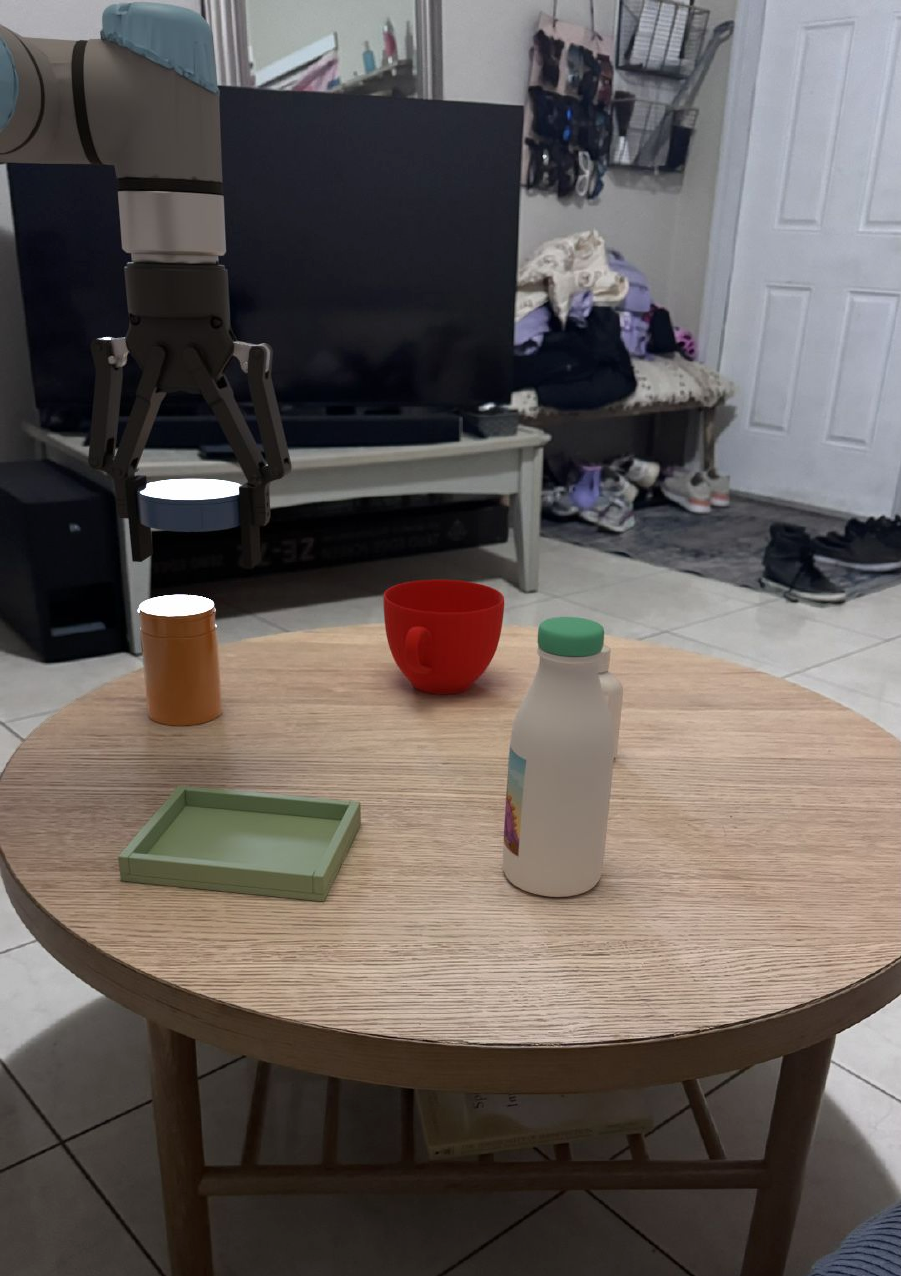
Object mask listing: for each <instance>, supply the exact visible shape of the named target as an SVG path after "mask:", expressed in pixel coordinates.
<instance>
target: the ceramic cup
mask: <svg viewBox="0 0 901 1276" xmlns="http://www.w3.org/2000/svg"><path fill="white" fill-rule="evenodd" d="M383 593H384V594H383V599H382V601H383V602H382V603H383V604H382V605H383V618H384V619H383V620H384V627H385V634H386V639H387V644H388V647H389V651H390V652H391V655H392V658H393V660H394V663H395V664H396V666H397V667H398V669H399V670H400V672H401V673H402V674H403V675H404V676H405V677H406V679H407V680H408V681H409V682H411V685H412V686H413V687H414V688H415V689H417V690H419V691H422V692H425V693H429V694H436V695H451V694H458V693H462V692H465V691H467V690H469V689H471V687H472V686H473V684H475V682H476V681H477V680H478V679H480V677H481V676H482V675H483V674H484V673H485V671H486V670H487V669H488V667H489V666H490V664H491V662H492V660H493V658H494V656H495V655H496V652H497V649H498V646H499V643H500V639H501V633H502V628H503V622H504V614H505V597H504V595H503V594H502V592H501V591H499V590H497V589H496V588H493V587H491V586H489V585H485V584H483V583H482V584H481V583H477V582H472V581H465V580H454V579H423V580H413V581H407V582H402V583H398V584H396V585H393V586H390V587H389V588H387V589H386V590H385V591H384V592H383Z"/></svg>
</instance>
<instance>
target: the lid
mask: <svg viewBox="0 0 901 1276" xmlns="http://www.w3.org/2000/svg"><path fill="white" fill-rule="evenodd" d="M241 485H242V484H241V483H238V482H233V481H229V480H223V479H222V480H220V479H211V478H210V479H207V478H180V479H178V478H177V479H166V480H158V481H154V482H153V481H152V482H149V483H147V484H145V485H142V486H140V487H138V488H137V500H138V511H139V521H140V523H141V524H143V525H144V526H147V527H150V528H151V529H154V530H159V531H166V532H180V533H182V532H183V533H192V532H193V533H200V532H201V533H202V532H215V531H216V532H217V531H223V530H229V529H233V528H237V527H241V523H240V504H239V487H240V486H241Z"/></svg>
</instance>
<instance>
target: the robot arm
mask: <svg viewBox="0 0 901 1276" xmlns="http://www.w3.org/2000/svg"><path fill="white" fill-rule="evenodd" d="M101 17H102V18H101V23H102V24H101V26H102V28H101V29H100V31H99V35H100V38H89V39H88V40H87V39H85V40H84V39H79V40H73V39H72V40H71V39H60V38H59V39H58V38H41V37H29V36H22V35H21V34H19V33H18V32H15V31H13V30H11V29H10V28H8V27H6V26H4V25H3V24H1V23H0V165H6V164H7V163H13V164H14V163H15V164H42V165H43V164H44V165H45V164H46V165H47V164H48V165H49V164H51V165H55V164H56V165H93V166H113V167H114V170H115V176H116V188H117V189H116V190H117V198H118V210H119V212H118V213H119V221H120V222H119V223H120V224H119V225H120V238H121V239H120V240H121V249H122V250H123V251H124V252H125V253H127V254H130V255H131V261H128V262H126V266H124V267H123V268H124V281H125V291H126V303H127V312H128V317H129V326H128V330H127V332H126V334H125V337H117V338H115V337H112V336H106V337H99V338H95V339H93V340H92V341H91V342H90V352H91V356H92V361H93V364H94V370H95V376H94V377H95V379H94V387H93V388H94V390H93V402H92V411H91V413H92V414H91V423H90V424H91V425H90V434H89V435H90V436H89V447H88V455H87V457H88V458H87V462H88V465H89V467H90V468H91V469H92V470H95V471H102V472H104V473H106V474H108V475H109V476H111V478H112V480H113V482H114V484H113V485H114V494H115V504H116V512H117V515H118V517H119V519H126V520H128V529H129V541H130V551H131V562H132V563H133V562H134V563H142V562H143V561H146V560H147V559H148V558H150V557H152V556H153V555H154V549H153V539H152V528H150V527H147V526H144V525H143V524H141V523H140V521H139V511H138V500H137V488H138V487H140V486H142V485H145V484H148V483H147V481H148V480H147V475H145V474H144V475H142V474H137V475H135V474H136V473H138V472H139V471H140V468H139V467H138V466H139V463H140V460H141V457H142V456H143V452H144V450H145V447H146V444H147V442H148V439H149V436H150V434H151V431H152V429H153V425H154V423H155V421H156V417H157V414H158V412H159V409H160V406H161V404H162V401H163V400H164V398H165V397H166V395H167V394H172V393H175V392H180V391H181V392H185V393H188V394H190V395H202V397H203V399H204V401H205V403H206V404H207V405H208V406H209V407H210V408H211V410H212V413H213V414H214V416H215V418H216V420H217V422H218V423H219V426H220V428H221V430H222V432H223V434H224V436H225V438H226V440H227V443H228V444H229V446H230V449H231V450H232V452H233V455H234V456H235V458H236V461H237V462H238V464H239V466H240V469H241V470H242V473H243V474H244V476H245V478H246V480H247V481H246V482H245V483H243V484H241V486H240V487H239V504H240V523H241V525H240V537H241V539H240V540H241V541H240V542H241V559H242V569H246V570H252V569H254V568H255V567H256V566H258V564H259V563H260V562H262V552H261V551H262V550H261V532H260V530H261V529H260V527H265V526H266V525H267V524H269V522H270V519H271V499H270V498H271V496H270V494H271V493H270V484H271V483H272V482H273V481H277V480H280V479H282V478H284V477H286V476H287V475H288V474H290V473H291V471H292V469H293V466H292V461H291V457H290V452H289V447H288V443H287V440H286V435H285V431H284V427H283V422H282V418H281V414H280V409H279V404H278V401H277V396H276V393H275V387H274V383H273V379H272V367H273V356H274V352H273V351H274V349H273V347H272V346H271V345H270V344H268V343H264V342H263V343H260V344H254V343H250V342H244V341H239V340H237V337H236V335H235V334H234V332H233V329H232V326H231V308H230V307H231V306H230V291H229V290H230V289H229V275H228V273H229V272H228V269H226V266H225V264H220V263H219V257H221V256H222V257H223V256H225V254H226V253H227V245H226V244H227V241H226V219H225V198H224V197H225V196H224V185H223V164H222V137H221V113H220V112H221V111H220V109H221V108H220V97H221V96H220V95H221V93H220V88H219V87H218V77H217V68H216V67H217V66H216V57H215V45H214V35H213V31H212V27H211V25H210V24H209V23H208V22H207V20H206V19H205V18H204V17H203V15H202V14H200V13H198V12H197V11H195V10H193V9H191V8H187V7H184V6H180V5H174V4H168V3H162V2H161V3H160V2H149V1H133V2H117V3H113V4H110V5H108V6H107V7H106V8H105V9H104V10H103V12H102V15H101ZM128 354H130V355H131V357H132V358H133V359H134V361H135V363H137V365H138V366H139V368H140V369H141V370H142V374H141V378H140V380H139V383H138V385H137V388H136V391H135V399H134V403H133V405H132V408H131V410H130V413H129V414H130V415H129V416H128V419H127V423H126V425H125V427H124V431H123V433H122V436H121V439H120V442H119V445H118V448H117V450H116V447H117V439H118V426H119V418H120V408H121V407H120V406H121V399H122V398H121V396H122V388H123V377H124V376H123V375H124V373H123V370H124V369H123V367H124V366H125V365H126V364H127V361H128ZM234 358H237V360H238V361H239V365H240V369H241V370H242V371H243V372H244V373H245V374H247V375H246V376H247V385H248V390H249V394H250V398H251V402H252V406H253V407H252V408H253V410H254V415H255V418H256V419H255V420H256V423H257V427H258V431H259V435H260V441H261V443H262V448H263V452H264V456H265V458H264V456H263V455H262V452H261V450H260V448H259V446H258V444H257V442H256V440H255V438H254V436H253V434H252V431H251V430H250V428H249V426H248V424H247V422H246V419H245V418H244V415H243V414H242V411H241V409H240V407H239V404H238V403H237V401H236V399H235V397H234V391H233V388H232V387H231V383H230V382H229V380H228V378H227V376H226V374H225V373H226V371H227V370H228V368H229V366H230V364H231V363H232V361H233V359H234ZM265 460H266V461H265Z"/></svg>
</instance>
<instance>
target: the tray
mask: <svg viewBox="0 0 901 1276" xmlns="http://www.w3.org/2000/svg"><path fill="white" fill-rule="evenodd" d="M361 804H362V803H361V801H355V800H345V799H334V798H324V797H323V798H322V797H311V796H302V795H291V794H290V795H289V794H280V793H279V794H277V793H270V792H269V793H268V792H259V791H258V792H257V791H245V790H235V789H223V788H213V787H201V786H191V785H180V784H179V785H177V787H176V788H175V789H174V790H173V791H172V793H171V794H170V795H169V796H168V797H167V798H166V799H165V801H164V802H163V803H162V805H160V806H159V808H158V809H157V810H156V811H155V813H154V814H153V815H152V816H151V817H150V818H149V819H148V821H147V822H146V823H145V824H144V825H143V827H142V828H141V829H140V830H139V831H138V832H137V833H136V835H135V836H134V837H133V838H132V839H131V841H130V842H129V843H128V844H127V845H126V846H125V848H124V849H123V850H122V851H121V852H120V854H118V856H117V861H118V869H119V877H120V878H119V880H120V881H121V882H127V883H128V882H129V883H138V884H147V885H148V884H149V885H158V886H168V887H177V888H188V889H196V890H197V889H199V890H205V891H206V890H207V891H216V892H217V891H218V892H227V893H236V894H246V895H247V894H248V895H255V896H266V897H267V896H268V897H276V898H285V899H295V900H305V901H313V902H314V901H315V902H325V900H326V898H327V896H328V894H329V892H330V889H331V888H332V886H333V884H334V881H335V880H336V877H337V875H338V873H339V871H340V868H341V867H342V865H343V862H344V860H345V859H346V857H347V854H348V852H349V850H350V847H351V846H352V844H353V842H354V839H355V837H356V835H357V833H358V831H359V828H360V826H361V823H362V819H361V817H362V813H361V812H362V810H361V807H362V806H361Z"/></svg>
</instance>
